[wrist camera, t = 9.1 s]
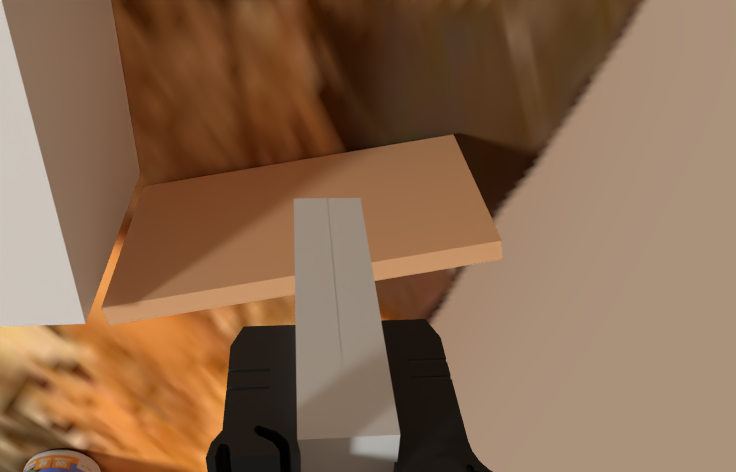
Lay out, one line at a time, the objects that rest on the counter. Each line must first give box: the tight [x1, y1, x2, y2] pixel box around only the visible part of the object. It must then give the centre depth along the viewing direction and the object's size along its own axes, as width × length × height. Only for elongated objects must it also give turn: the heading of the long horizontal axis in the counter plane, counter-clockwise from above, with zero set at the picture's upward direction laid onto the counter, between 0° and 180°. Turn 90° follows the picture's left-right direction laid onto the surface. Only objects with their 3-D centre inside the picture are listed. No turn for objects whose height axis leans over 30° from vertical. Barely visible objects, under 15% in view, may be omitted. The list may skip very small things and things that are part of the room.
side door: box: [101, 135, 502, 325], centre depth 33 cm, size 17×2×10 cm, turn 98°
